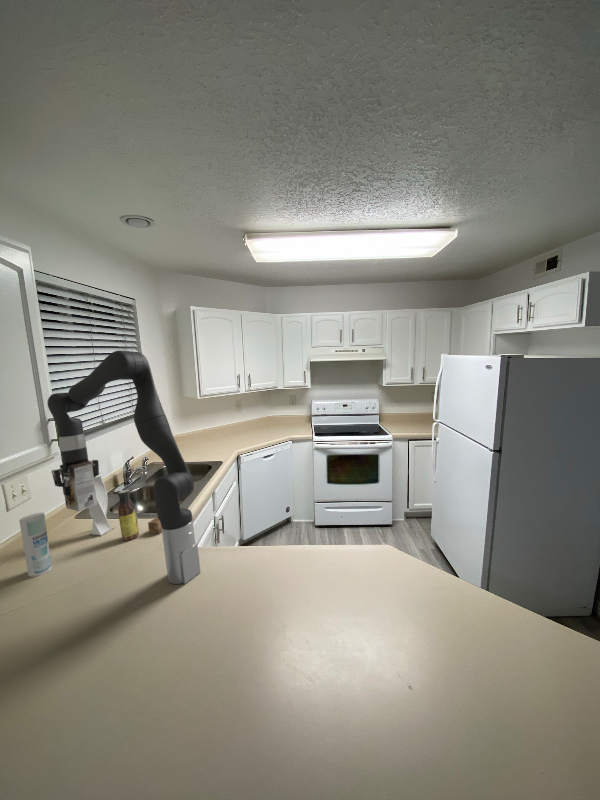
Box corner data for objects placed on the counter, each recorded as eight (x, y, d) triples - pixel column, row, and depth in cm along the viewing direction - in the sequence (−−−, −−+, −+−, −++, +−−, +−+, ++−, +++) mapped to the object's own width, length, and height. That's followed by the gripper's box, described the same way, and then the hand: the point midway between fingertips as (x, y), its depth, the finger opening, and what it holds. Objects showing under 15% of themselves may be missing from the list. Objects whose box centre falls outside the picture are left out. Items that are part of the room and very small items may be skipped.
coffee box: (65, 508, 106) (58, 465, 105) (85, 501, 112) (79, 460, 111) (78, 511, 102) (71, 466, 101) (98, 504, 108) (92, 461, 107)
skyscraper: (118, 528, 133) (109, 467, 131) (101, 537, 125) (92, 473, 123) (103, 527, 135) (95, 467, 133) (86, 536, 127) (77, 473, 126)
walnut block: (167, 528, 128) (166, 517, 128) (159, 534, 123) (157, 523, 123) (157, 528, 129) (156, 517, 129) (149, 534, 124) (147, 522, 124)
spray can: (36, 578, 100) (27, 521, 99) (23, 576, 102) (14, 520, 100) (56, 566, 106) (48, 512, 105) (44, 564, 108) (35, 512, 107)
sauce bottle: (142, 535, 123) (136, 489, 122) (126, 543, 118) (120, 495, 117) (134, 532, 127) (128, 487, 126) (119, 539, 122) (112, 492, 121)
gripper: (53, 453, 98) (61, 501, 99) (100, 443, 110) (106, 486, 111) (44, 452, 101) (51, 499, 102) (90, 442, 114) (96, 484, 115)
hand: (80, 492), depth 107 cm, fingers closed on coffee box, 6 cm apart
